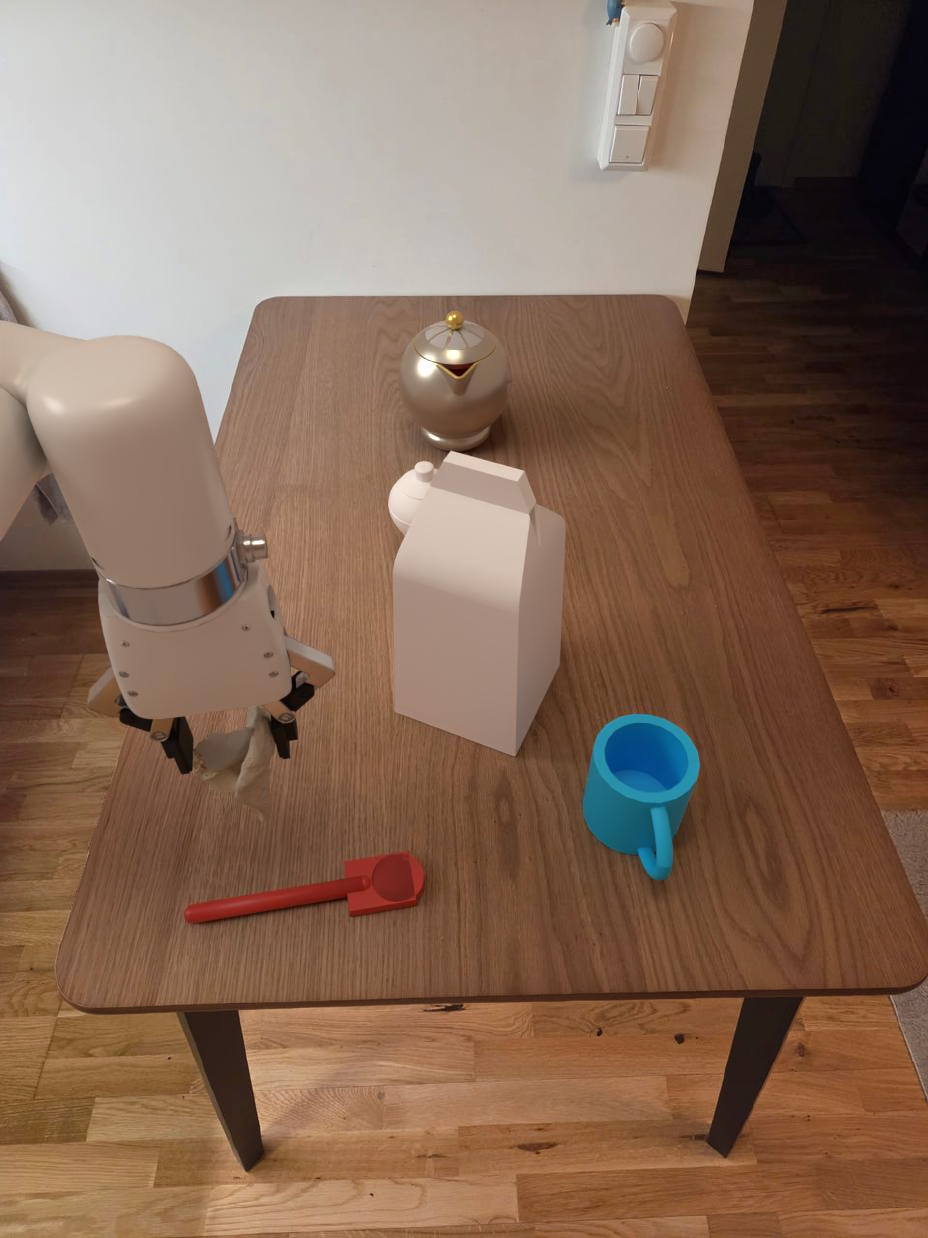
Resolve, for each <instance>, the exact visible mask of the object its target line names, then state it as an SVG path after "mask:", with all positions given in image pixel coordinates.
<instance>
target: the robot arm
mask: <svg viewBox="0 0 928 1238" xmlns="http://www.w3.org/2000/svg"><path fill="white" fill-rule="evenodd" d="M214 443H215V442H214V439H213V435H212V432H211V428H210V423H209V420H208V417H207V412H206V409H205V404H204V401H203V397H202V393H201V390H200V387H199V384H198V381H197V377H196V375H195V373H194V371H193V369H192V368H191V366H190V364H189V362H187V360H186V358H185V357H184V356H183V355H182V354H180V353H179V352H178V351H177V350H176V349H174V348H173V347H171V346H170V345H168V344H166V343H164V342H161V341H159V340H156V339H153V338H149V337H145V336H141V335H131V334H125V335H124V334H116V335H105V336H104V335H103V336H99V337H93V338H89V339H82V338H77V337H74V336H73V337H72V336H67V335H63V334H59V333H55V332H51V331H47V330H43V329H39V328H35V327H32V326H28V325H23V324H20V323H15V322H13V321H8V320H4V319H3V320H2V319H0V542H1V541H2V540H3V539H4V537H5V536H6V534H7V532H8V531H9V529H10V527H11V525H12V524H13V523H14V521H15V519H16V517H17V516H18V514H19V513H20V511H21V509H22V508H23V506H24V504H25V503H26V501H27V500H28V497H29V496H30V494H31V492H32V491H33V489H34V487H35V486H36V484H37V483H38V482H39V481H40V480H42V479H44V478H46V477H47V476H49V475H50V474H53V477H54V479H55V481H56V483H57V485H58V487H59V490H60V492H61V494H62V496H63V499H64V502H65V504H66V505H67V508H68V510H69V512H70V515H71V517H72V520H73V521H74V525H75V526H76V528H77V532H78V533H79V535H80V537H81V540H82V542H83V545H84V546H85V549H86V552H87V554H88V555H89V559H90V561H91V562H92V565H93V567H94V569H95V572H96V574H97V576H98V579H99V580H98V584H97V593H98V595H97V601H98V610H99V617H100V618H99V619H100V623H101V628H102V629H101V630H102V633H103V638H104V642H105V647H106V650H107V653H108V657H109V662H110V667H109V668H107V670H106V671H105V672H103V674H102V676H100V677H99V679H97V681H96V682H95V683H94V684H93V685H92V686H91V687H90V688H89V690H88V695H87V703H86V708H87V709H88V710H90V711H91V712H94V713H97V714H100V715H102V716H103V715H104V716H107V717H110V718H113V719H114V718H115V717H116V718H118V720H119V722H120V723H121V724H123V725H126V726H128V727H131V728H135V729H138V730H141V731H144V732H147V733H149V735H148V737H149V739H150V740H151V741H153V742H156V743H160V745H161V747H162V749H163V751H164V753H165V756H166V758H167V759H168V760H171V759H174V762H175V764H176V766H177V768H178V770H179V773H180V775H181V776H183V775H189V774H190V773H191V772H192V770H193V753H194V752H193V750H194V741H195V740H194V735H193V733H192V730H191V728H190V725H189V723H188V720H187V717H188V716H190V717H191V716H197V715H203V714H211V713H218V712H225V711H231V710H239V709H244V708H245V709H246V708H248V707H252V706H258V705H261V706H262V707H263V708H264V709H266V710H267V711H268V712H269V713H270V714H271V729H272V733H273V737H274V740H275V748H276V750H277V754H278V757H279V759H282V760H289V759H291V743H290V742H291V741H293V742H294V741H299V730H298V729H299V728H298V723H297V717H296V712H298V711H299V710H300V709H301V708H302V707H303V706H304V705H305V704H307V703H308V702H309V701H310V700H312V699H313V698H314V696H315V693H316V692H315V691H317V690H319V689H321V688H322V687H324V686H325V685H326V684H327V683H328V682H330V681H331V680H332V679H333V678H334V677H335V676H336V664H335V659H334V657H333V656H332V655H331V654H328V653H326V652H324V651H322V650H319V649H317V648H315V647H313V646H310V645H308V644H307V643H304V642H303V641H300V640H298V639H295V638H293V637H291V636H290V634H289V631H288V628H287V624H286V621H285V618H284V617H285V616H284V614H283V610H282V609H281V605H280V603H279V599H278V597H277V595H276V594H277V593H276V591H275V588H274V587H273V584H272V582H271V580H270V578H269V575H268V574H267V572H266V571H267V570H266V569H265V567H264V566H263V564H262V562H261V561H260V560H265V559H266V560H267V559H269V548H268V541H267V536H266V535H265V534H259V535H252V533H246V534H245V532H244V530H243V529H239V526H238V522H237V518H236V517H234V516H233V512H232V509H231V505H230V501H229V497H228V493H227V490H226V485H225V481H224V478H223V474H222V471H221V467H220V462H219V458H218V454H217V451H216V447H215V444H214ZM291 668H293V669H295V670H297V671H296V672H295V673H294V674H293V675H292V669H291Z"/></svg>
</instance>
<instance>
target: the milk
mask: <svg viewBox="0 0 928 1238" xmlns="http://www.w3.org/2000/svg"><path fill="white" fill-rule="evenodd" d="M437 469H438V471H437V473H436V475H435V476H434V478H433V480H432V482H431V483H430V485H431V487H429V488H428V489H427V491H426V493H425V495H424V498H423V500H422V502H421V504H420V506H419V508H418V510H417V512H416V514H415V516H414V518H413V521H412V523H411V525H410V527H409V529H408V531H407V533H406V535H405V536H404V537H403V539H402V541H401V544H400V546H399V548H398V551H397V552H396V556H395V559H394V562H393V567H392V619H393V620H392V626H393V627H392V629H393V631H392V632H393V634H392V635H393V699H394V700H393V704H394V705H393V707H394V713H396V714H398V715H401V716H403V717H407V718H409V719H412V720H415V721H418V722H420V723H423V724H426V725H428V726H430V727H433V728H436V729H439V730H441V731H444V732H447V733H449V734H453V735H455V736H457V737H459V738H463V739H466V740H468V741H471V742H474V743H476V744H479V745H482V746H485V747H486V748H487V747H488V748H490V749H492V750H495V751H497V752H501V753H503V754H506V755H508V756H512V757H514V758H516V756H517V754H518V753H519V750H520V748H521V746H522V745H523V743H524V740H525V738H526V736H527V734H528V732H529V729H530V728H531V726H532V723H533V721H534V720H535V717H536V715H537V713H538V711H539V709H540V708H541V707H540V706H541V705H542V702H543V700H544V699H545V696H546V694H547V692H548V690H549V688H550V686H551V684H552V682H553V680H554V678H555V676H556V673H557V671H558V670H559V667H560V665H561V646H562V645H561V643H562V624H563V621H562V620H563V601H564V600H563V599H564V597H563V596H564V578H565V577H564V576H565V557H566V536H567V535H566V534H567V527H566V521H565V519H564V517H563V516H561V514H559V513H557V512H555V511H553V510H551V509H549V508H547V507H545V506H542V505H541V504H538V503H537V499H536V497H535V494H534V491H533V489H532V487H531V484H530V482H529V479H528V477H527V474H526V471H525V470H524V469H519V468H516V467H512V466H508V465H505V464H501V463H497V462H493V461H490V460H486V459H483V458H480V457H479V458H478V457H475V456H473V455H472V456H471V455H468V454H465V453H464V454H463V453H461V452H458V451H449V453H448V454H447V455H446V456H445V458H444V459H443V460H442V462H441V464H440V465H439V467H438V468H437Z"/></svg>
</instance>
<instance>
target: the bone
mask: <svg viewBox="0 0 928 1238" xmlns="http://www.w3.org/2000/svg"><path fill="white" fill-rule="evenodd" d="M245 722H246V726H245V727H240V728H238V729H235V730H233V731H232V732H230V733H228V732H227V733H226V732H224V731H220V730H213V731H212V732H210V733H209V734H208V735H207V736H206V738H203V739H202V740H201V741H199V742H198V743H197V745H196V746H194V747H195V748H193V770H192V771H191V774H192V775H193V776H194V777H196V778H197V779H199V780H202V781H203V782H204V783H206V784H208V785H209V790H211V791H212V790H213V791H225V792H230V793H234V796H235V798H236V799H237V800H238V801H239V802H240V803H241V804H243V805H245V806H246V807H248V809H250V811H251V812H252V813H253V814H255V816H256V817H257V818H258V819H259V821H260V822H261V823H262V824H265V823H266V822H268V821H270V819H271V817H272V812H273V801H272V795H271V785H270V771H271V769H270V766H271V760H272V758H273V755H274V753H275V749H276V744H275V740H274V737H273V733H272V729H271V714H270V713H269V712H268V711H267V710H266V709H264V708H263V707H262V706H261V705H258V706H252V707H247V713H246V717H245Z"/></svg>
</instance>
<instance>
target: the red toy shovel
mask: <svg viewBox="0 0 928 1238" xmlns="http://www.w3.org/2000/svg"><path fill="white" fill-rule="evenodd" d="M344 873H345V874H344V875H345V878H340V879H333V880H329V881H322V882H316V883H311V884H305V885H298V886H291V887H286V888H285V887H284V888H280V889H274V890H268V891H262V892H261V891H260V892H257V893H250V894H243V895H237V896H232V897H225V898H220V899H214V900H208V901H203V902H197V903H191V904H189V905H187V907H185V909H184V912H183V917H184V918H183V919H184V920H185V921H186V922H187V923H190V924H198V923H202V922H203V923H204V922H208V921H209V922H210V921H215V920H220V919H226V918H231V917H237V916H245V915H251V914H255V913H256V914H257V913H262V912H268V911H275V910H279V909H287V908H291V907H296V906H303V905H309V904H314V903H320V902H321V903H322V902H326V901H332V900H336V899H344V898H347V904H348V913H349V917H351V918H352V917H356V916H362V915H363V916H364V915H368V914H374V913H379V912H386V911H392V910H398V909H404V908H409V907H415V906H418V903H417V902H418V900H419V899H420V897H421V896H422V894H423V892H424V889H425V884H426V880H425V879H426V878H425V870H424V868H423V865H422V864H421V862H420V861H419V860H418V859H417V858H415V857H414V856H412V855H411V853H410V850H405V851H400V852H393V853H388V854H381V855H376V856H370V857H369V856H368V857H364V858H357V859H351V860H346V861H344Z"/></svg>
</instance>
